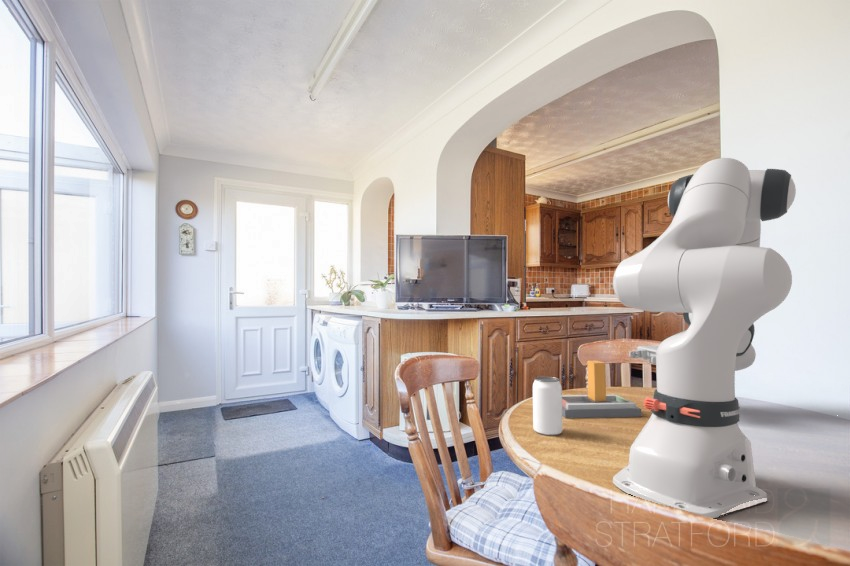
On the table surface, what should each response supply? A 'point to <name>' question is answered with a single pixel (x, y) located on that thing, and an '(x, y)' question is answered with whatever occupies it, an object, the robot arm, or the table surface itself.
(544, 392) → the can
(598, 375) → the handle
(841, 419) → the table surface
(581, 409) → the grey tray
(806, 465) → the table surface
